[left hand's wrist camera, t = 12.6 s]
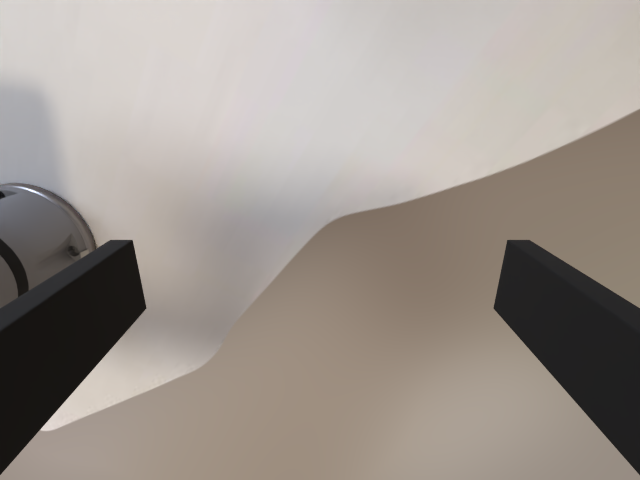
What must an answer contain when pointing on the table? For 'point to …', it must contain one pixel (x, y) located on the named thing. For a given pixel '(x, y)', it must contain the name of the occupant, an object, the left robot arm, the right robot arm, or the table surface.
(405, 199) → the table surface
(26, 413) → the left robot arm
